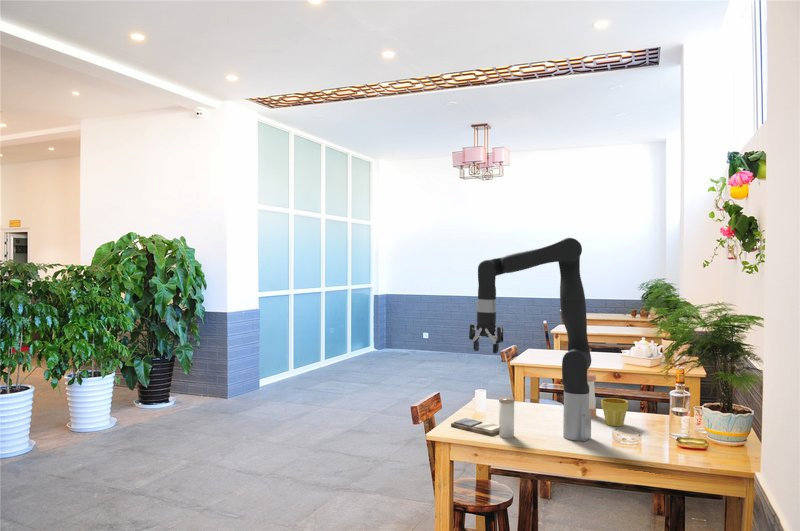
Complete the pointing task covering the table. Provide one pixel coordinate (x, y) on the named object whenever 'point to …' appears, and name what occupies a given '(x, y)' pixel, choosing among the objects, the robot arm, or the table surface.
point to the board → (476, 426)
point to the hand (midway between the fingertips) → (485, 352)
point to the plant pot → (614, 411)
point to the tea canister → (506, 417)
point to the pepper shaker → (591, 393)
